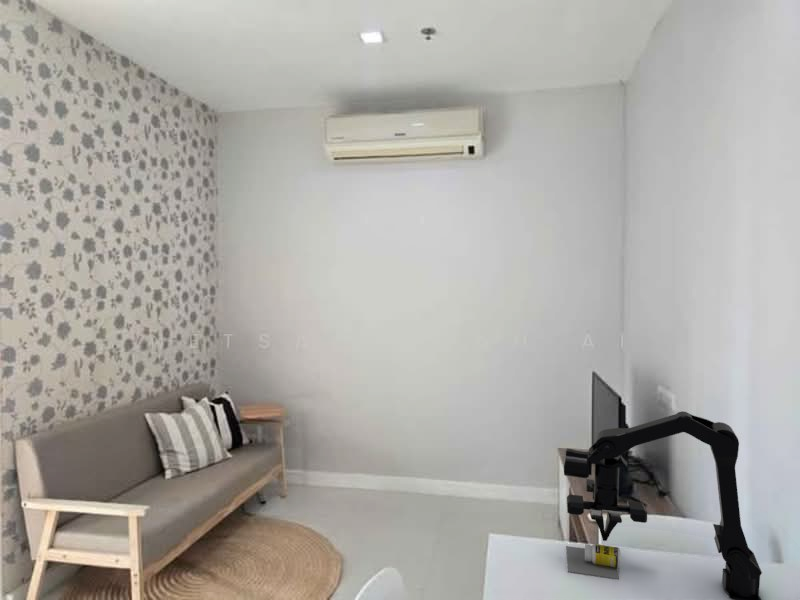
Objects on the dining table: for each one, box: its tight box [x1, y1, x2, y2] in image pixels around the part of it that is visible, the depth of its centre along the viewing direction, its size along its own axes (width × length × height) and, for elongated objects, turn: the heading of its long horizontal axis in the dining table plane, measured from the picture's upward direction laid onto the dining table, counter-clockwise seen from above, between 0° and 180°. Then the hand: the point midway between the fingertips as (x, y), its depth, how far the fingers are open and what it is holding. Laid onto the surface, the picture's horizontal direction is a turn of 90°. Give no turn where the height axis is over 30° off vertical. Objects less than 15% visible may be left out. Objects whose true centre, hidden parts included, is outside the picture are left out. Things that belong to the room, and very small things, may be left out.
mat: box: [565, 545, 620, 581], centre depth 139 cm, size 12×12×1 cm
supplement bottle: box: [584, 543, 621, 569], centre depth 138 cm, size 5×5×8 cm
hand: (604, 540), depth 138 cm, fingers closed
